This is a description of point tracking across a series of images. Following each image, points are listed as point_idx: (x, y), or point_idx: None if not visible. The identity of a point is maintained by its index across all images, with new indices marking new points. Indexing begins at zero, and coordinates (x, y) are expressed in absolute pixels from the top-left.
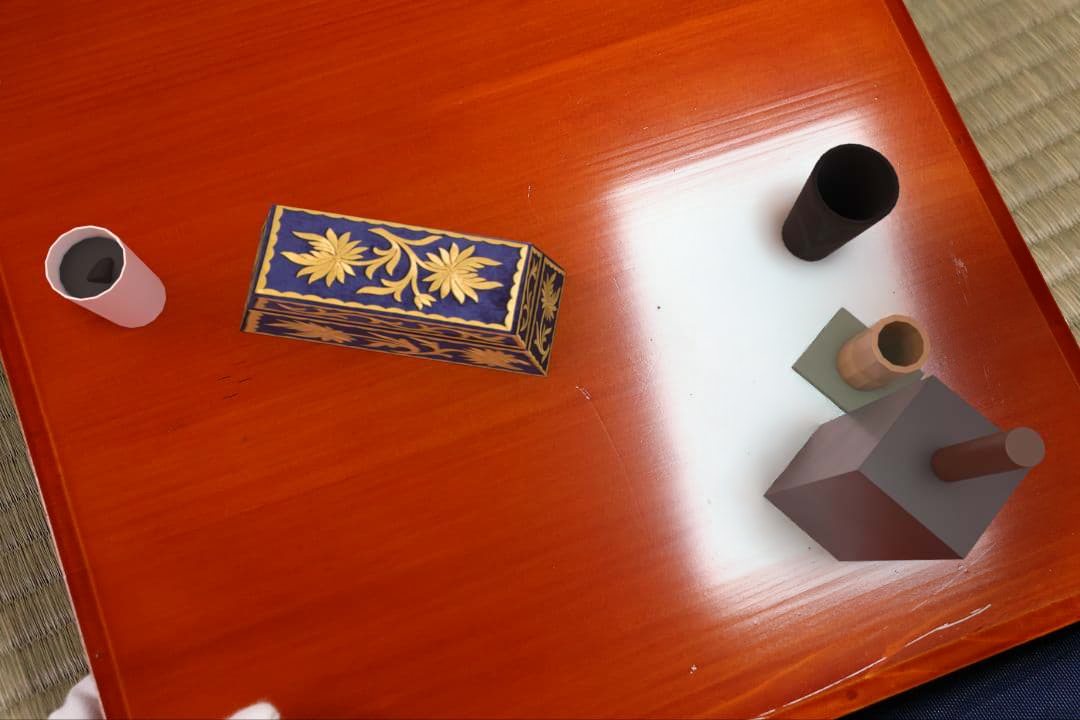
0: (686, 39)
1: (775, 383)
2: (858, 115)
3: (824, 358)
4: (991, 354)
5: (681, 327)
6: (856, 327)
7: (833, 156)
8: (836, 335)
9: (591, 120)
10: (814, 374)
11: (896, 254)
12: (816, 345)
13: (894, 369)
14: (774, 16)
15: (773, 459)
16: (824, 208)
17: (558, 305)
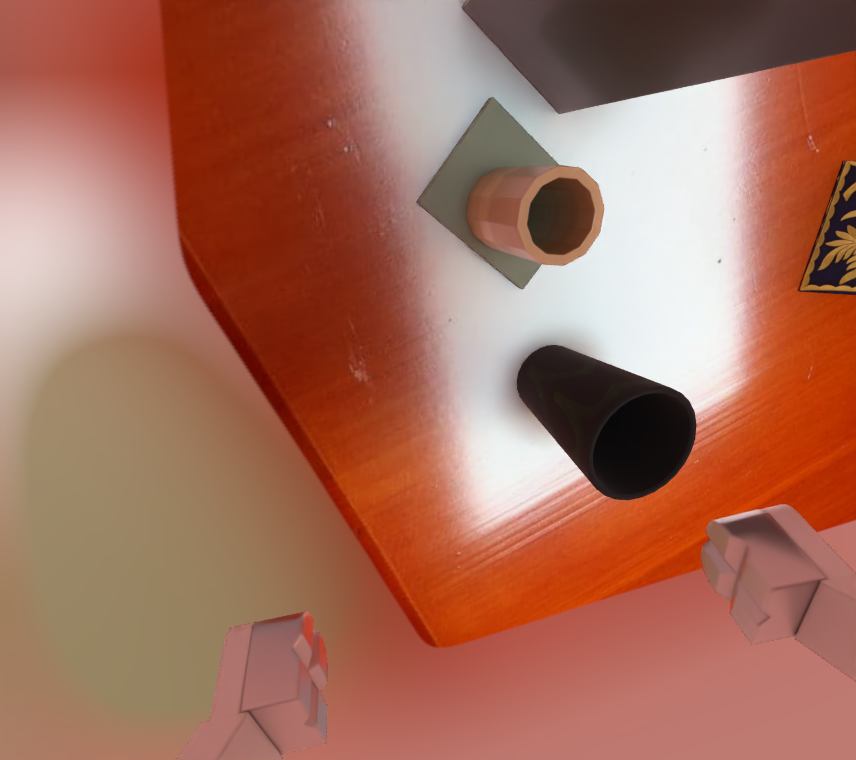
0: (644, 559)
1: (608, 173)
2: (479, 530)
3: None
4: (311, 245)
5: (700, 239)
6: (507, 262)
7: (647, 475)
8: None
9: (742, 457)
10: None
11: (443, 372)
12: None
13: (576, 171)
14: (558, 606)
15: None
16: (689, 401)
17: (820, 249)
